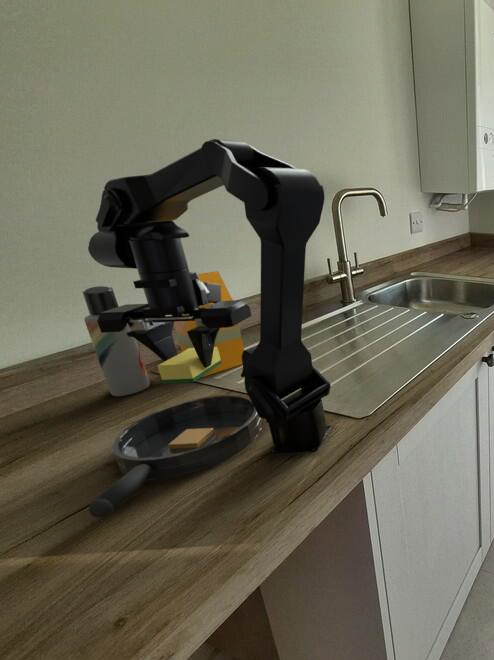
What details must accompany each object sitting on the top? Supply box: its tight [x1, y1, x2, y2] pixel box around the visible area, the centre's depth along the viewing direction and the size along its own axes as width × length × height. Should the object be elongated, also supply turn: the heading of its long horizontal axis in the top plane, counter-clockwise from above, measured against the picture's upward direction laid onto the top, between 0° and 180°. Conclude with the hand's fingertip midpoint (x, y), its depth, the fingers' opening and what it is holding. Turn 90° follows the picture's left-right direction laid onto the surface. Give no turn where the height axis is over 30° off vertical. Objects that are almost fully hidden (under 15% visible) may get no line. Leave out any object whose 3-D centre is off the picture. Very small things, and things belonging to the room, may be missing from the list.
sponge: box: [157, 347, 222, 385], centre depth 64 cm, size 7×4×3 cm, turn 4°
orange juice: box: [173, 270, 245, 378], centre depth 85 cm, size 8×9×20 cm
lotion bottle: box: [82, 285, 151, 397], centre depth 75 cm, size 6×6×20 cm
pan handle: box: [88, 464, 153, 518], centre depth 49 cm, size 2×8×2 cm, turn 4°
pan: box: [111, 394, 263, 481], centre depth 61 cm, size 17×17×4 cm
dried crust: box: [168, 428, 214, 449], centre depth 61 cm, size 4×4×1 cm
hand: (192, 367), depth 65 cm, fingers closed on sponge, 4 cm apart
